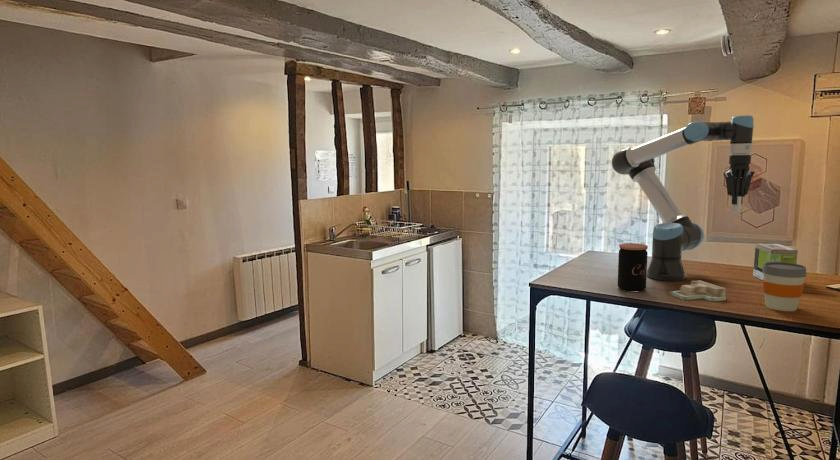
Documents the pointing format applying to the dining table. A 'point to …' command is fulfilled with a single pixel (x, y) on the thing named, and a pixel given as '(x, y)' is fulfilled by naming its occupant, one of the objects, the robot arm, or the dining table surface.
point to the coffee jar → (632, 267)
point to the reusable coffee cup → (783, 285)
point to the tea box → (772, 256)
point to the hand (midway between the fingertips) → (736, 212)
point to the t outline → (695, 296)
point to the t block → (702, 289)
